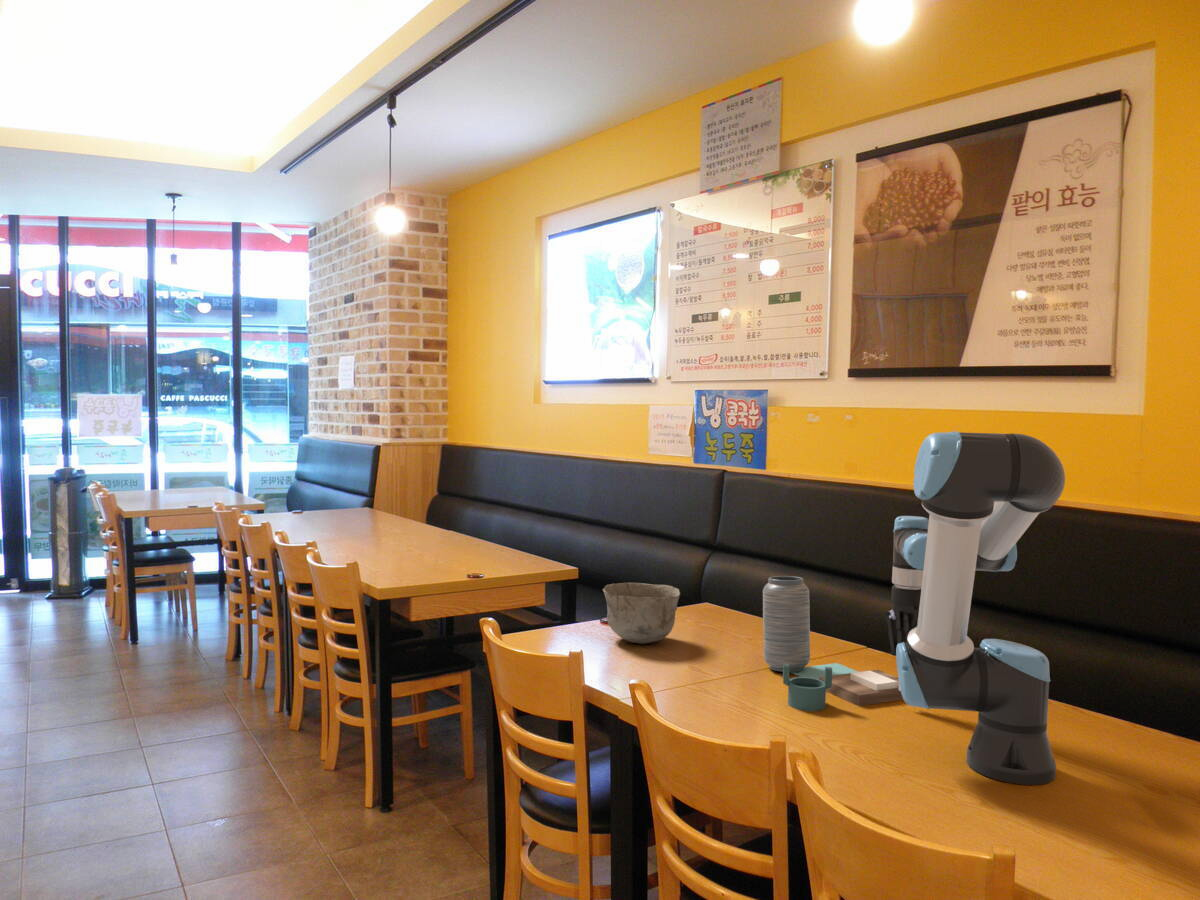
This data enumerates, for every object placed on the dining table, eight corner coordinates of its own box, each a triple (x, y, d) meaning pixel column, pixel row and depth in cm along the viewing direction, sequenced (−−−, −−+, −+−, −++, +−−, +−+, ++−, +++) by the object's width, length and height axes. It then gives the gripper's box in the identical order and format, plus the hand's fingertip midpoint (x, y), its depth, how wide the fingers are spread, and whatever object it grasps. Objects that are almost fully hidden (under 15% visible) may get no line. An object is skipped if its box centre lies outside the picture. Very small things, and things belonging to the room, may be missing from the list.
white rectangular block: (897, 687, 203) (897, 681, 203) (876, 690, 201) (877, 684, 201) (870, 676, 211) (870, 670, 211) (850, 679, 209) (850, 673, 209)
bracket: (834, 707, 196) (836, 667, 196) (804, 713, 192) (805, 673, 192) (806, 696, 204) (807, 658, 204) (776, 701, 200) (777, 662, 199)
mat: (874, 679, 217) (874, 678, 217) (822, 687, 211) (822, 685, 211) (836, 664, 230) (837, 663, 230) (786, 670, 223) (786, 669, 223)
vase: (794, 661, 232) (793, 574, 232) (819, 671, 221) (818, 579, 221) (755, 665, 228) (754, 576, 228) (778, 675, 217) (777, 582, 217)
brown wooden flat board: (919, 696, 205) (919, 686, 205) (858, 706, 197) (859, 695, 197) (877, 679, 218) (877, 669, 218) (818, 687, 210) (819, 677, 210)
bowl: (607, 629, 261) (608, 579, 261) (680, 633, 258) (681, 583, 258) (596, 649, 240) (597, 595, 239) (676, 654, 237) (678, 599, 236)
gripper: (944, 590, 191) (940, 697, 192) (901, 579, 203) (897, 680, 204) (918, 593, 188) (914, 701, 189) (876, 581, 200) (872, 683, 201)
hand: (905, 690), depth 197 cm, fingers closed
